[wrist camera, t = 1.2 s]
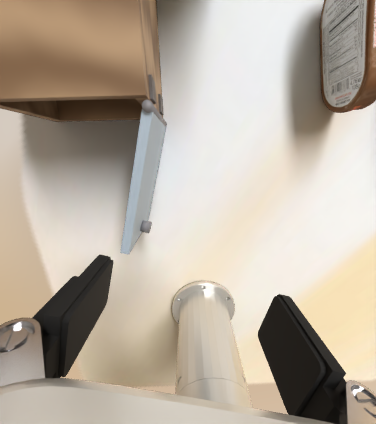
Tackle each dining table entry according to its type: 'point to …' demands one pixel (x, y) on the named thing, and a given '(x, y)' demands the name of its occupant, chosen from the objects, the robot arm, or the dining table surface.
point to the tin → (348, 54)
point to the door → (143, 175)
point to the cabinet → (79, 58)
